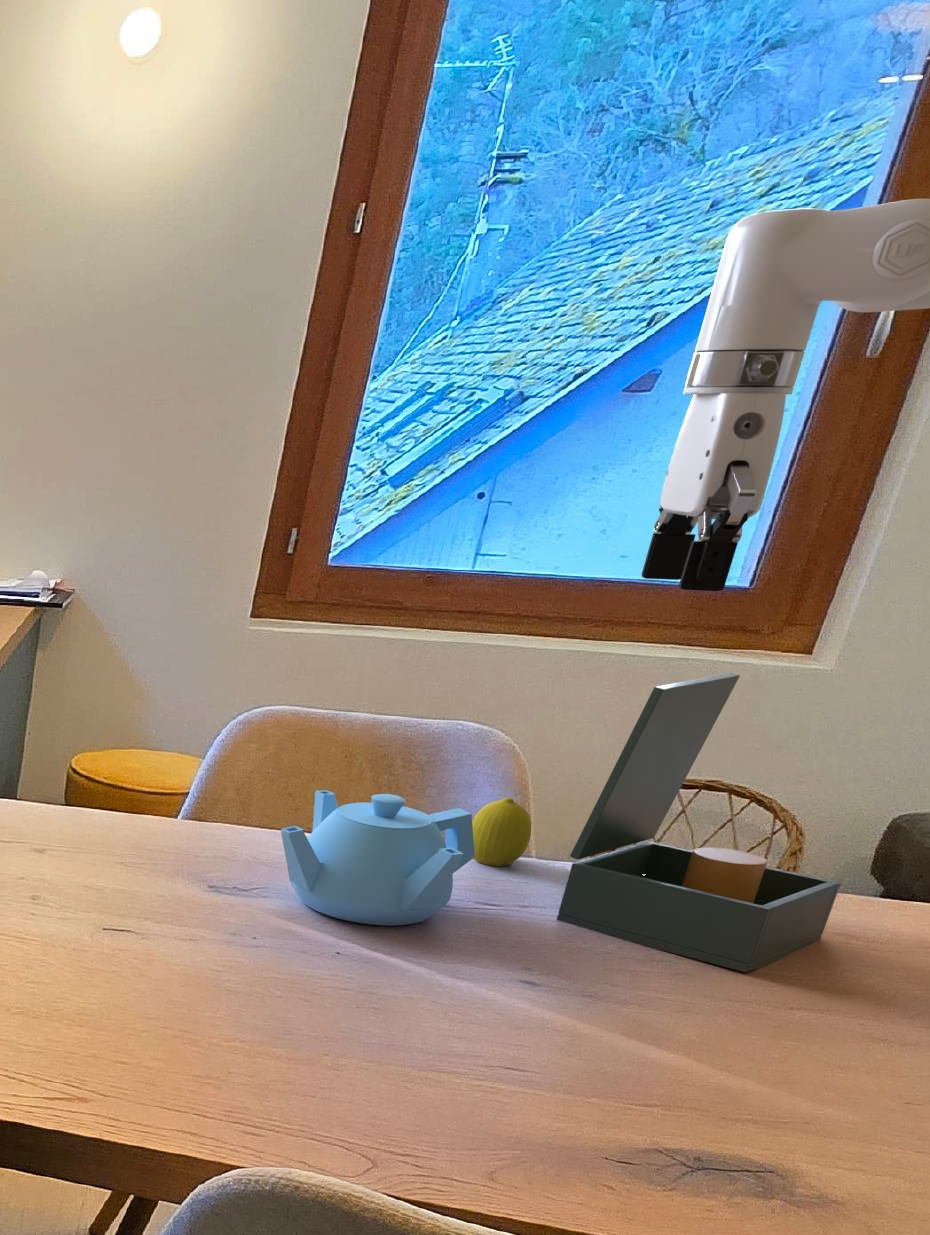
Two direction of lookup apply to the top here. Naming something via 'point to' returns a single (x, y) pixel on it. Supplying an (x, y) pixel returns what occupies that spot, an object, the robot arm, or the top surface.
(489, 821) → the lemon
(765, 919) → the grey hinged box
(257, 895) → the top surface
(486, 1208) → the top surface
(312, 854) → the teapot
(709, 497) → the robot arm
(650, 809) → the lid
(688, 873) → the orange cylinder
